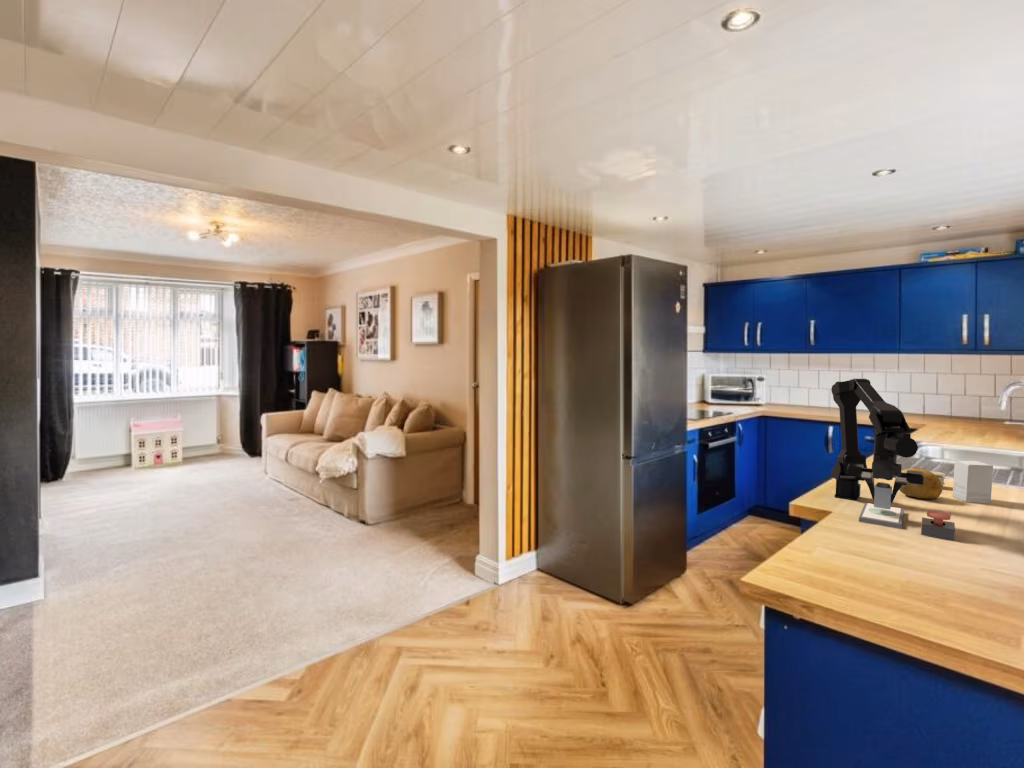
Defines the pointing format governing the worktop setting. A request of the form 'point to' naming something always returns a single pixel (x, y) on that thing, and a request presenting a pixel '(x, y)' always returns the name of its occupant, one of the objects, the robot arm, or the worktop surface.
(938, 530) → the button housing
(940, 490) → the potato
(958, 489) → the supplement box
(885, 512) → the drawing board
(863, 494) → the worktop surface
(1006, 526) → the worktop surface
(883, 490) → the grey rectangular block
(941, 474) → the stacked layers on plate
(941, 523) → the button
